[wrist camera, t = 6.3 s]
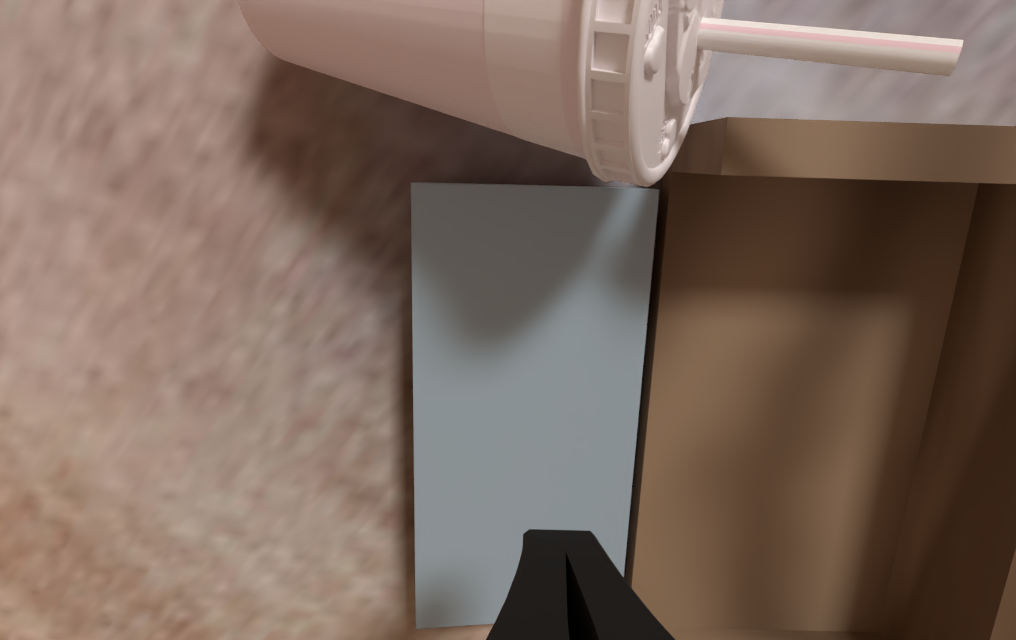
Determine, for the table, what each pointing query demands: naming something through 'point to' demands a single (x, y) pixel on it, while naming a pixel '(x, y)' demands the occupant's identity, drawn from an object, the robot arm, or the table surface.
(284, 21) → the smoothie
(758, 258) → the box
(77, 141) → the table surface
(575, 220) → the panel
